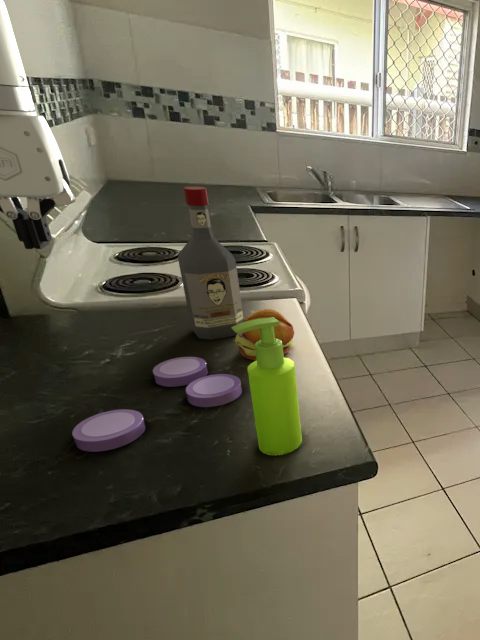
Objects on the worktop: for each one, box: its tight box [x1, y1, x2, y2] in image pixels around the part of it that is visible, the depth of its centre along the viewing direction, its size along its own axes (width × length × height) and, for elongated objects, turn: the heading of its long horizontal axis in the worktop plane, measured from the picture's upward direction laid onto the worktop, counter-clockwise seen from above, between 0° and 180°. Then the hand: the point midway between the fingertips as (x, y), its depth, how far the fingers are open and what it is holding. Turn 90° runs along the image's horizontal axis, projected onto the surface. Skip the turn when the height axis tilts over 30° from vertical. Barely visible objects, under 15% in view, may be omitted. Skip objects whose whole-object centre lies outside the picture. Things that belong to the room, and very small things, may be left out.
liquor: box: [177, 186, 245, 341], centre depth 97 cm, size 9×9×30 cm
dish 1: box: [71, 408, 146, 453], centre depth 69 cm, size 8×8×2 cm
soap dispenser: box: [231, 317, 303, 456], centre depth 66 cm, size 6×7×20 cm
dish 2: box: [152, 356, 209, 388], centre depth 85 cm, size 8×8×2 cm
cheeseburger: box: [234, 308, 295, 361], centre depth 94 cm, size 10×11×10 cm
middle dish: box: [185, 373, 243, 408], centre depth 80 cm, size 8×8×2 cm
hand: (38, 246), depth 66 cm, fingers closed
